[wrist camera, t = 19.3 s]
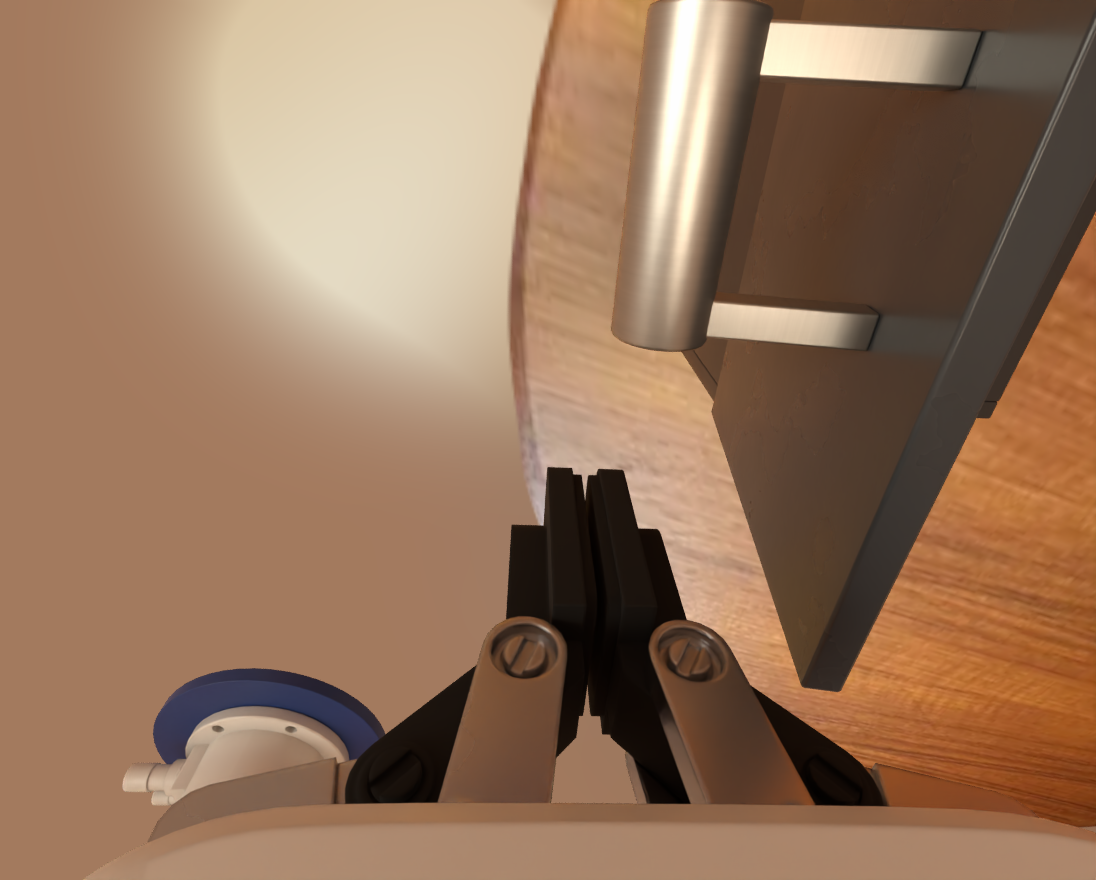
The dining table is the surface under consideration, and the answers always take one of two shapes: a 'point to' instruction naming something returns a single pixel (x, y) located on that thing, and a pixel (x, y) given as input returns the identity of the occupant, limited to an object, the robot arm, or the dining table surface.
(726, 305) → the bin lid
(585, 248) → the dining table surface
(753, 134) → the bin
